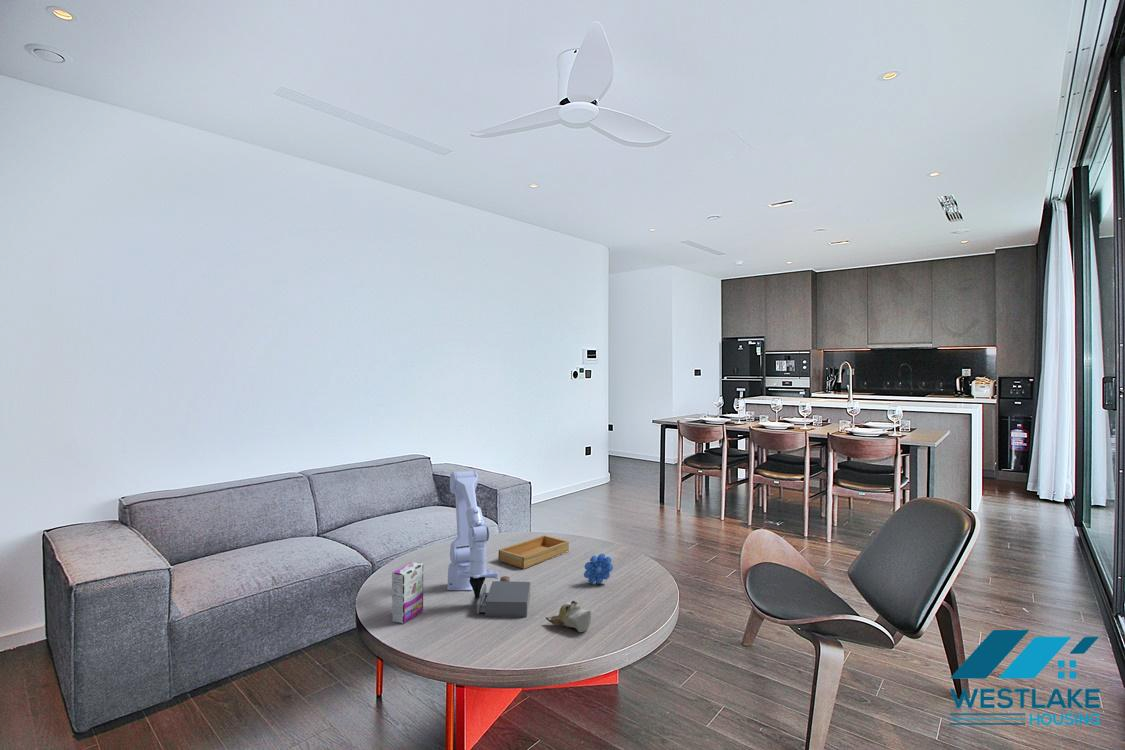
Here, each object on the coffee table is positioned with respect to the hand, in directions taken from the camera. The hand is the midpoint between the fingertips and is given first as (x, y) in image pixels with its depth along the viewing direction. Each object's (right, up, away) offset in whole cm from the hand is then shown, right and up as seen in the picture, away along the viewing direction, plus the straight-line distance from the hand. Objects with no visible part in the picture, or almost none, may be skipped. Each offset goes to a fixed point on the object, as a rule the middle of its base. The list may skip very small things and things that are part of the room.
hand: (477, 597), depth 193 cm
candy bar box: (-22, -2, -10) cm, 24 cm away
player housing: (+11, -3, 0) cm, 11 cm away
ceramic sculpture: (+33, -3, -15) cm, 37 cm away
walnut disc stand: (+8, -3, +15) cm, 17 cm away
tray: (+18, -3, +52) cm, 55 cm away
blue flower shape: (+44, -3, +22) cm, 49 cm away
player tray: (+8, -2, 0) cm, 8 cm away
